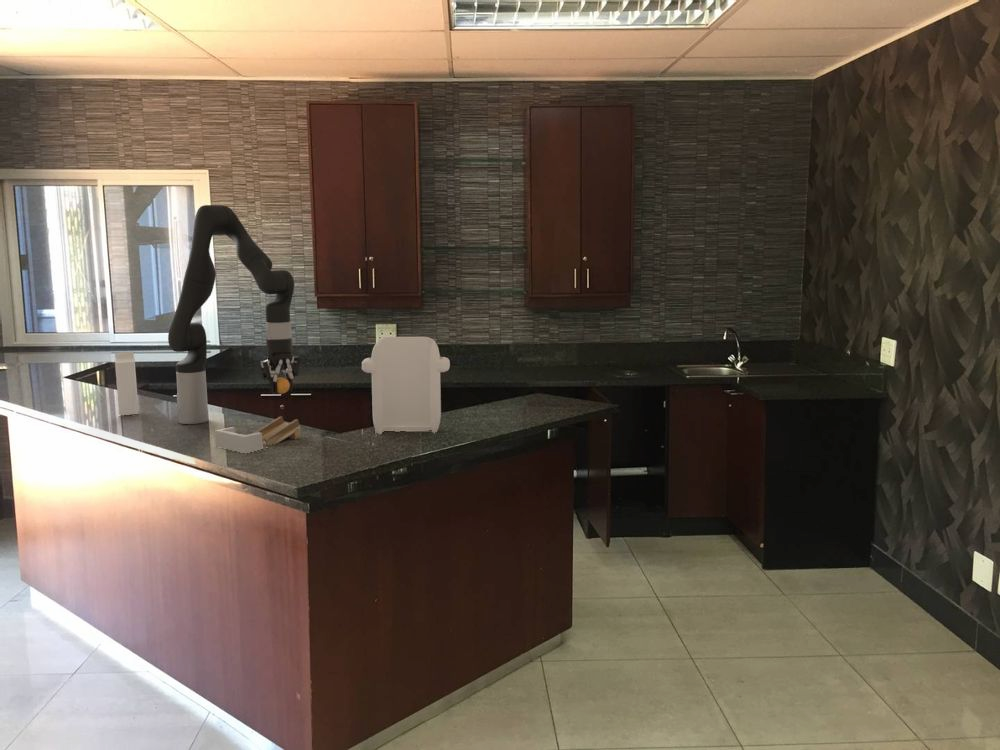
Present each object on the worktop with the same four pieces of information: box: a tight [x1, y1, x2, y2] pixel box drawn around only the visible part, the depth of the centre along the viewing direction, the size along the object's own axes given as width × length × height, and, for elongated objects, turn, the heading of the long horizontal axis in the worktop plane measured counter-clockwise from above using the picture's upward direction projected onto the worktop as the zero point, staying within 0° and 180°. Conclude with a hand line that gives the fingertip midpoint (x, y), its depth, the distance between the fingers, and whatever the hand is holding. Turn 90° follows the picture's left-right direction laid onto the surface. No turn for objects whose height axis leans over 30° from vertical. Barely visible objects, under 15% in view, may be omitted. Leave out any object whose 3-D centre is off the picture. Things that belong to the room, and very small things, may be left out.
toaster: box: [361, 336, 451, 435], centre depth 262 cm, size 27×11×30 cm, turn 92°
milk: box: [114, 351, 139, 416], centre depth 290 cm, size 6×6×22 cm
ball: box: [276, 376, 290, 395], centre depth 252 cm, size 5×5×5 cm
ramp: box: [253, 415, 302, 446], centre depth 252 cm, size 8×13×7 cm, turn 144°
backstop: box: [214, 426, 264, 455], centre depth 242 cm, size 14×6×5 cm, turn 53°
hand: (281, 392), depth 253 cm, fingers closed on ball, 5 cm apart
